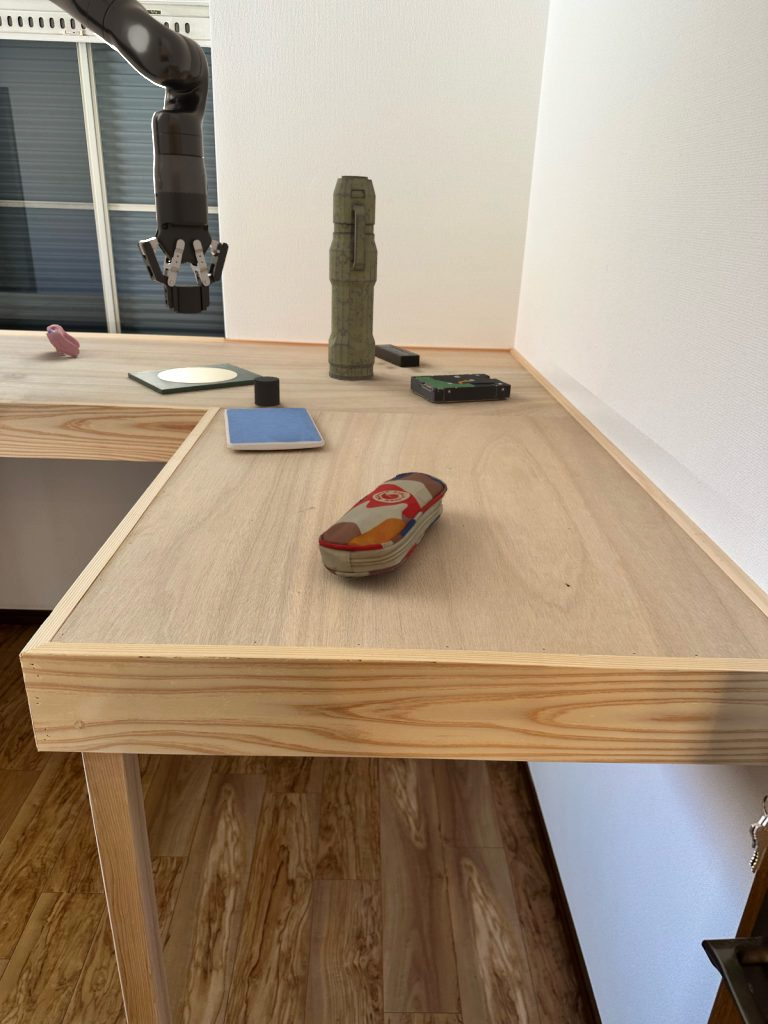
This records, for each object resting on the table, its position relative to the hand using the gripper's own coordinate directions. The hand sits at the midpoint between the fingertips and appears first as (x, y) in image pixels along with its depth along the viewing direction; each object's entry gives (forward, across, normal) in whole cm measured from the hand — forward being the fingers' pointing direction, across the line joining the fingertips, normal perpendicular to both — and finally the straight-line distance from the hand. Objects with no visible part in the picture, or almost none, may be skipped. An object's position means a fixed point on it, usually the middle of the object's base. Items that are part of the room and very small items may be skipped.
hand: (187, 310), depth 113 cm
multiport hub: (+14, -52, -14) cm, 55 cm away
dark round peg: (0, 0, 0) cm, 0 cm away
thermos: (+14, -34, -4) cm, 37 cm away
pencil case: (+14, +6, +63) cm, 65 cm away
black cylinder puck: (+14, -9, +8) cm, 19 cm away
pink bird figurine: (+14, +7, -50) cm, 53 cm away
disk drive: (+14, -42, +18) cm, 47 cm away
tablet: (+14, -2, +24) cm, 28 cm away
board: (+14, -7, -14) cm, 21 cm away
